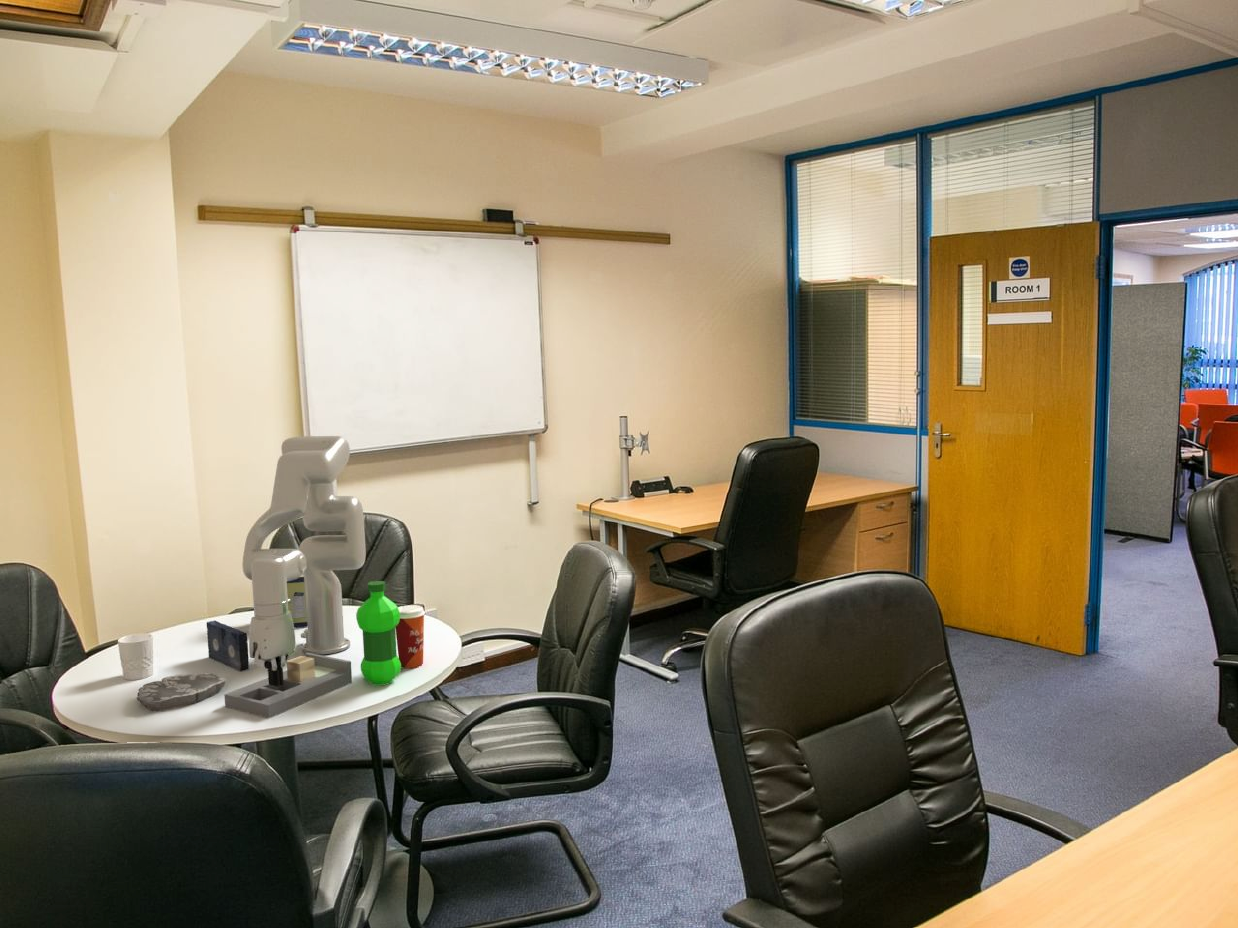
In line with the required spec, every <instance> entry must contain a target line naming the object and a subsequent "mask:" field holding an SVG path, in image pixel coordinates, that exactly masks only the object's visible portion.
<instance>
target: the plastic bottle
mask: <svg viewBox="0 0 1238 928" xmlns="http://www.w3.org/2000/svg"><path fill="white" fill-rule="evenodd" d="M386 590H387V589H386V581H383V580H375V581H369V582H368V583H367V592H369V595H370V597H368V598H367V599H366V600H365V601H364V602H363V603H362V604H361V605H360V606H359V607H358V608H357V609H356V614H355V615H356V616H355V617H356V622H357V625H358V628H359V629H360V630H361V631H362V645H363V658H362V660H361V663H360V671H361V674H362V677H363V678H364V679H365V680H366V681H368V682H369V683H372V684H371V685H373V684H374V686H384V684H385V685H388V684H387V683H389V684H391V681H392V682H393V680H394V679H395V678H397V677H398V675H400V672H401V670H402V667H401V663H400V660H399V656H398V655H397V654H398V652H397V638H396V629H395V627H396V626H397V625H398V623H399V621H400V612H399V610H398V607H399V606H398V605H397V603H394V602H393V601H392V600H391V599H389V598H388V597H386V596H385V591H386Z"/></svg>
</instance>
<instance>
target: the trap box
mask: <svg viewBox="0 0 1238 928" xmlns="http://www.w3.org/2000/svg"><path fill="white" fill-rule="evenodd" d="M304 656H305V657H310V658H314V664H315V677H312V678H310V679H307V680H305V681H302V682H298V681H293V680H289V679H288V677H287V670H285V671H284V670H283V683H284V684H283V685H280V686H278V687H277V686H273V685H269V681H268V677H266V678H263V679H261V680H259V681H255V682H253V683H251V684H248V685H246V686H243V687H240V688H238V689H235V690H234V689H233V691H229V692H227V693H225V694H224V707H225V708H228V709H232V710H236V711H239V712H240V711H241V712H245V713H248V714H252V715H257V716H259V717H262V718H263V717H264V718H268V719H270V718H273V717H275V716H278V715H280V714H282V713H284V712H287V711H289V710H291V709H294V708H296V707H299V706H301V705H303V704H305V703H306V704H307V703H308V702H310V701H313V700H315V699H317V698H320V697H322V696H325V695H327V694H330V693H331V692H334V691H336V690H338V689H340V688H344V687H345V686H348V685H350V684H352V683H353V678H352V677H353V675H352V661H350V660H346V659H342V658H338V657H337V658H335V657H331V656H326V655H323V654H320V655H317V654H312V653H305V654H304Z"/></svg>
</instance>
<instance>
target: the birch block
mask: <svg viewBox="0 0 1238 928" xmlns="http://www.w3.org/2000/svg"><path fill="white" fill-rule="evenodd" d="M285 663H286V671H287V677H288V679H289V680H293V681H298V682H302V681H305V680H307V679H310V678H312V677H315V664H314V658H310V657H305V655H304V656H303V655H299V656H297V657H295V658H294V657H293V658H291V659H289V660H288V659H287V660H286V662H285Z"/></svg>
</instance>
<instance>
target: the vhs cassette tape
mask: <svg viewBox="0 0 1238 928" xmlns="http://www.w3.org/2000/svg"><path fill="white" fill-rule="evenodd" d="M206 629H207V630H206V635H207V637H206V638H207V639H206V640H207V648H208V659H211V660H213V661H215V662H217V663H220V664H222V665H224V666H226V667H229V668H230V669H233V670H236V671H238V672H244V671H249V669H250V663H249V662H250V661H249V658H250V656H249V641H248V632H244V631H242V630H239V629H238V628H235V627H233V626H230V625H227V624H225V623H221V622H220V621H217V620H210V621H206Z"/></svg>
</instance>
